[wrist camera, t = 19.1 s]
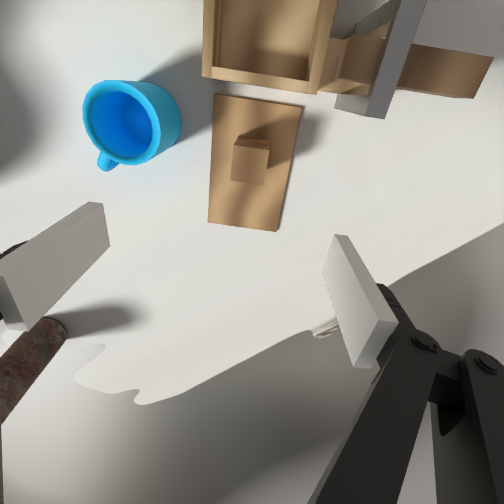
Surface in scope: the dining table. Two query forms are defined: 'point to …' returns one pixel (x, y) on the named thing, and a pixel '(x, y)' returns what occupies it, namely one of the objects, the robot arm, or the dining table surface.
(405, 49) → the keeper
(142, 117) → the mug
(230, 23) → the toolbox
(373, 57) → the bar
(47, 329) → the brown piece
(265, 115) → the lid
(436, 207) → the dining table surface
